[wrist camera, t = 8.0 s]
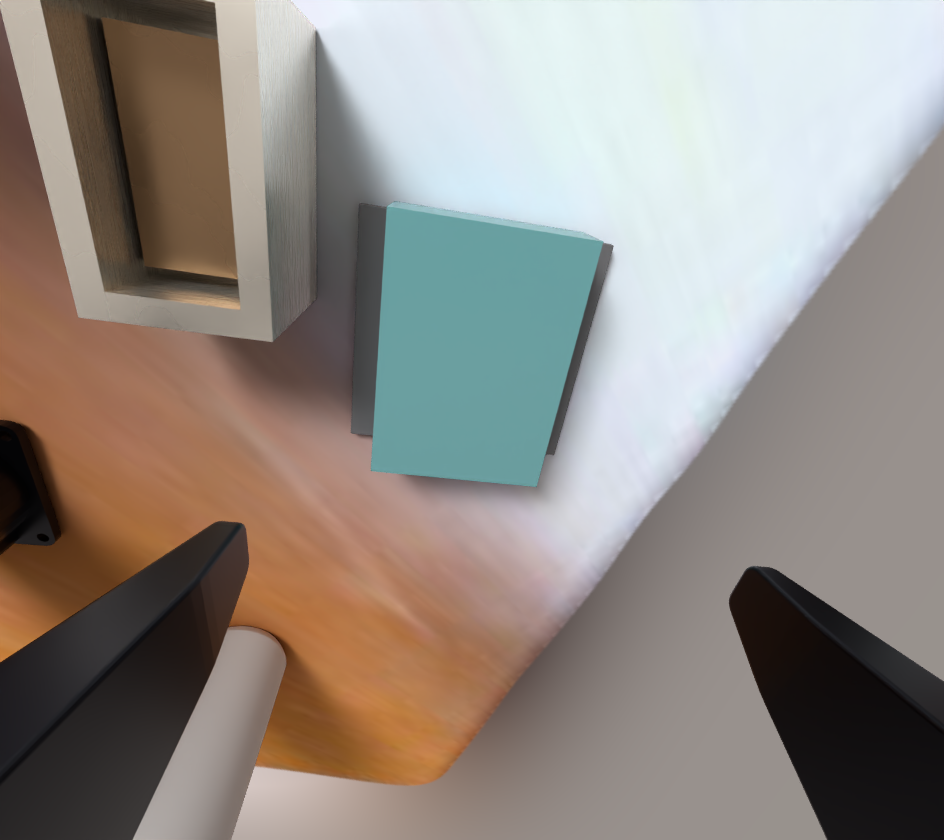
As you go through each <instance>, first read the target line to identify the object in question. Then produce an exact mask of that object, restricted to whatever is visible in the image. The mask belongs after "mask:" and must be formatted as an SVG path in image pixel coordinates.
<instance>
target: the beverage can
mask: <svg viewBox="0 0 944 840" xmlns="http://www.w3.org/2000/svg"><path fill="white" fill-rule="evenodd" d="M285 668H286V656H285V653H284V650H283V648H282V646H281V644H280V643H279V642H278V641H277V639H276V638H275V637H274V636H272V635H271V634H270V633H268V632H266V631H264V630H262V629H259V628H255V627H250V626H234V627H229V628H228V629H227V632H226V635H225V638H224V641H223V644H222V647H221V649H220V652H219V655H218V657H217V660H216V663H215V665H214V668H213V670H212V672H211V674H210V677H209V679H208V681H207V683H206V686H205V688H204V690H203V692H202V694H201V696H200V698H199V700H198V702H197V705H196V707H195V709H194V711H193V713H192V715H191V717H190V719H189V722H188V724H187V726H186V728H185V730H184V732H183V734H182V736H181V738H180V741H179V743H178V745H177V747H176V749H175V751H174V753H173V755H172V758H171V760H170V762H169V764H168V766H167V768H166V770H165V772H164V775H163V777H162V779H161V781H160V783H159V785H158V787H157V789H156V791H155V794H154V796H153V798H152V800H151V802H150V804H149V806H148V808H147V811H146V813H145V815H144V817H143V819H142V821H141V823H140V825H139V828H138V830H137V832H136V834H135V836H134V838H133V840H231V838H232V835H233V832H234V829H235V826H236V822H237V819H238V816H239V813H240V810H241V807H242V804H243V801H244V797H245V794H246V791H247V788H248V785H249V782H250V778H251V776H252V772H253V769H254V766H255V763H256V760H257V757H258V754H259V750H260V747H261V744H262V741H263V738H264V735H265V732H266V728H267V725H268V722H269V719H270V716H271V713H272V709H273V706H274V703H275V700H276V697H277V693H278V690H279V687H280V684H281V681H282V677H283V674H284V671H285Z"/></svg>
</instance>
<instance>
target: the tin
mask: <svg viewBox="0 0 944 840" xmlns="http://www.w3.org/2000/svg"><path fill="white" fill-rule="evenodd" d="M0 9H1V13H2V17H3V21H4V25H5V29H6V33H7V37H8V41H9V45H10V49H11V53H12V57H13V61H14V65H15V69H16V73H17V76H18V80H19V84H20V88H21V92H22V96H23V100H24V104H25V108H26V112H27V116H28V120H29V124H30V128H31V132H32V136H33V140H34V144H35V148H36V151H37V155H38V159H39V163H40V167H41V171H42V175H43V179H44V183H45V187H46V191H47V195H48V199H49V203H50V207H51V211H52V215H53V219H54V222H55V226H56V230H57V234H58V238H59V242H60V246H61V250H62V254H63V258H64V262H65V266H66V270H67V274H68V278H69V282H70V286H71V290H72V294H73V297H74V301H75V305H76V309H77V313H78V317H79V318H86V319H94V320H102V321H110V322H118V323H126V324H134V325H141V326H149V327H157V328H165V329H173V330H181V331H189V332H197V333H205V334H213V335H220V336H228V337H236V338H244V339H252V340H260V341H268V342H273V341H274V340H275V339H276V338H277V337H278V336H279V335H280V334H281V333H282V332H283V331H284V330H285V329H286V328H287V327H288V326H289V325H290V324H291V323H292V322H293V321H294V320H295V319H296V318H297V317H298V316H299V315H300V314H301V313H302V312H303V311H304V310H305V309H306V308H307V307H308V306H309V305H310V304H311V303H312V302H313V301H314V300H315V299H316V298H317V227H316V27H315V26H314V25H313V24H312V23H311V22H310V21H309V20H308V19H307V18H306V16H305V15H304V14H303V13H302V12H301V11H300V10H299V9H298V8H297V7H296V6H295V4H294V3H293V2H292V1H291V0H0Z"/></svg>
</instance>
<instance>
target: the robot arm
mask: <svg viewBox="0 0 944 840" xmlns="http://www.w3.org/2000/svg"><path fill="white" fill-rule="evenodd" d="M7 432H8V433H9V434H8V433H7ZM60 537H61V531H60V528H59V525H58V522H57V519H56V516H55V514H54V511H53V508H52V505H51V502H50V499H49V497H48V494H47V491H46V488H45V485H44V482H43V479H42V477H41V474H40V471H39V468H38V465H37V462H36V459H35V457H34V454H33V451H32V448H31V445H30V442H29V439H28V437H27V434H26V432H25V430H24V428H23V427H22V426H20V425H19V424H17V423H15V422H12V421H7V420H0V555H1V554H2V553H3V552H4V551H6V550H7V549H8V548H9V547H10V546H11V545H12V544H14V543H16V544H30V545H44V546H48V545H52V544H54V543H55V542H56V541H57V540H58V539H59V538H60ZM248 566H249V554H248V544H247V534H246V528H245V526H244V525H243V524H242V523H238V522H226V521H218V522H215V523H213V524H212V525H210V526H209V527H207V528H206V529H204V530H202V531H201V532H199V533H198V534H196V535H195V536H193V537H192V538H190V539H189V540H187V541H186V542H184V543H183V544H181V545H179V546H178V547H176V548H175V549H173V550H172V551H170V552H169V553H167V554H166V555H164V556H163V557H161V558H160V559H158V560H157V561H155V562H153V563H152V564H150V565H149V566H147V567H146V568H144V569H143V570H141V571H140V572H138V573H137V574H135V575H134V576H132V577H130V578H129V579H127V580H126V581H124V582H123V583H121V584H120V585H118V586H117V587H115V588H114V589H112V590H111V591H109V592H108V593H106V594H104V595H103V596H101V597H100V598H98V599H97V600H95V601H94V602H92V603H91V604H89V605H88V606H86V607H85V608H83V609H82V610H80V611H78V612H77V613H75V614H74V615H72V616H71V617H69V618H68V619H66V620H65V621H63V622H62V623H60V624H59V625H57V626H55V627H54V628H52V629H51V630H49V631H48V632H46V633H45V634H43V635H42V636H40V637H39V638H37V639H36V640H34V641H33V642H31V643H29V644H28V645H26V646H25V647H23V648H22V649H20V650H19V651H17V652H16V653H14V654H13V655H11V656H10V657H8V658H6V659H5V660H3V661H2V662H0V840H133V838H134V836H135V834H136V832H137V830H138V828H139V825H140V823H141V821H142V819H143V817H144V815H145V813H146V811H147V808H148V806H149V804H150V802H151V800H152V798H153V796H154V794H155V791H156V789H157V787H158V785H159V783H160V781H161V779H162V777H163V775H164V772H165V770H166V768H167V766H168V764H169V762H170V760H171V758H172V755H173V753H174V751H175V749H176V747H177V745H178V743H179V741H180V738H181V736H182V734H183V732H184V730H185V728H186V726H187V724H188V722H189V719H190V717H191V715H192V713H193V711H194V709H195V707H196V705H197V702H198V700H199V698H200V696H201V694H202V692H203V690H204V688H205V686H206V683H207V681H208V679H209V677H210V674H211V672H212V670H213V668H214V665H215V663H216V660H217V657H218V655H219V652H220V649H221V647H222V644H223V641H224V638H225V635H226V632H227V629H228V626H229V624H230V621H231V618H232V615H233V612H234V609H235V606H236V603H237V601H238V598H239V595H240V592H241V589H242V586H243V583H244V580H245V578H246V575H247V571H248ZM729 606H730V611H731V613H732V616H733V619H734V622H735V624H736V627H737V630H738V633H739V636H740V638H741V641H742V644H743V647H744V650H745V653H746V655H747V658H748V661H749V664H750V667H751V669H752V672H753V675H754V678H755V681H756V683H757V685H758V688H759V691H760V693H761V696H762V698H763V700H764V703H765V705H766V707H767V709H768V712H769V714H770V716H771V718H772V720H773V722H774V725H775V727H776V729H777V731H778V733H779V736H780V738H781V740H782V742H783V744H784V747H785V749H786V751H787V753H788V755H789V758H790V760H791V762H792V764H793V766H794V768H795V771H796V773H797V775H798V777H799V779H800V782H801V784H802V786H803V788H804V790H805V793H806V795H807V797H808V799H809V801H810V803H811V806H812V808H813V810H814V812H815V814H816V817H817V819H818V821H819V823H820V825H821V827H822V830H823V832H824V834H825V836H826V838H827V840H944V681H942V680H941V679H939V678H938V677H936V676H935V675H933V674H932V673H930V672H929V671H927V670H926V669H924V668H923V667H921V666H919V665H918V664H916V663H915V662H914V661H912V660H911V659H909V658H908V657H906V656H905V655H903V654H902V653H900V652H899V651H897V650H896V649H894V648H893V647H891V646H890V645H888V644H887V643H885V642H884V641H882V640H881V639H879V638H878V637H876V636H875V635H873V634H872V633H870V632H869V631H867V630H866V629H864V628H863V627H861V626H860V625H858V624H857V623H855V622H854V621H852V620H851V619H849V618H848V617H846V616H845V615H843V614H842V613H840V612H838V611H837V610H836V609H834V608H833V607H831V606H830V605H828V604H827V603H825V602H824V601H822V600H821V599H819V598H817V597H816V596H815V595H813V594H812V593H810V592H809V591H807V590H806V589H804V588H803V587H801V586H800V585H798V584H797V583H795V582H794V581H792V580H791V579H789V578H788V577H786V576H785V575H783V574H782V573H780V572H779V571H777V570H775V569H773V568H770V567H759V566H751V567H749V568H747V569H746V570H745V571H744V573H743V575H742V577H741V578H740V580H739V582H738V583H737V585H736V586H735V588H734V590H733V591H732V593H731V595H730V598H729Z"/></svg>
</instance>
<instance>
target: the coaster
mask: <svg viewBox="0 0 944 840" xmlns="http://www.w3.org/2000/svg"><path fill="white" fill-rule="evenodd" d="M386 212H387V207H381V206H375V205H369V204H363V203H360V204H359V224H358V252H357V280H356V308H355V336H354V364H353V392H352V419H351V433H353V434H362V435H372V436H373V427H374V411H375V394H376V378H377V361H378V345H379V328H380V311H381V295H382V278H383V262H384V245H385V229H386ZM612 250H613V245H611V244H606V243H603V245H602V248H601V252H600V256H599V259H598V263H597V267H596V270H595V274H594V278H593V281H592V285H591V289H590V292H589V296H588V300H587V304H586V307H585V311H584V315H583V318H582V322H581V326H580V329H579V333H578V337H577V340H576V344H575V348H574V351H573V355H572V359H571V362H570V366H569V370H568V373H567V377H566V381H565V384H564V388H563V392H562V395H561V399H560V403H559V406H558V410H557V414H556V417H555V421H554V425H553V428H552V432H551V436H550V439H549V443H548V447H547V450H546V454H550V455H554V453H555V450H556V446H557V443H558V439H559V436H560V432H561V429H562V425H563V422H564V418H565V415H566V411H567V408H568V404H569V401H570V397H571V394H572V390H573V387H574V383H575V380H576V376H577V373H578V369H579V366H580V362H581V359H582V355H583V352H584V348H585V344H586V341H587V337H588V334H589V330H590V327H591V323H592V320H593V316H594V313H595V309H596V306H597V302H598V299H599V295H600V292H601V288H602V285H603V281H604V278H605V274H606V271H607V267H608V264H609V260H610V257H611V253H612Z"/></svg>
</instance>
